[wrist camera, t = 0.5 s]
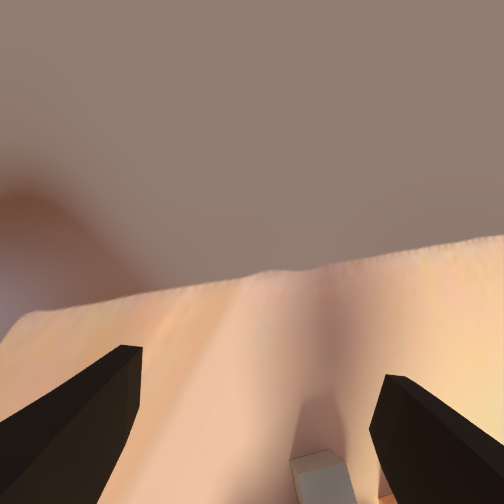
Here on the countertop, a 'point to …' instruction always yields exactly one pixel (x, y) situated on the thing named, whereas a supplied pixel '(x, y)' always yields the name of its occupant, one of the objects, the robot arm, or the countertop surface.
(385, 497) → the terracotta block
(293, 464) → the slate block
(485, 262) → the countertop surface
